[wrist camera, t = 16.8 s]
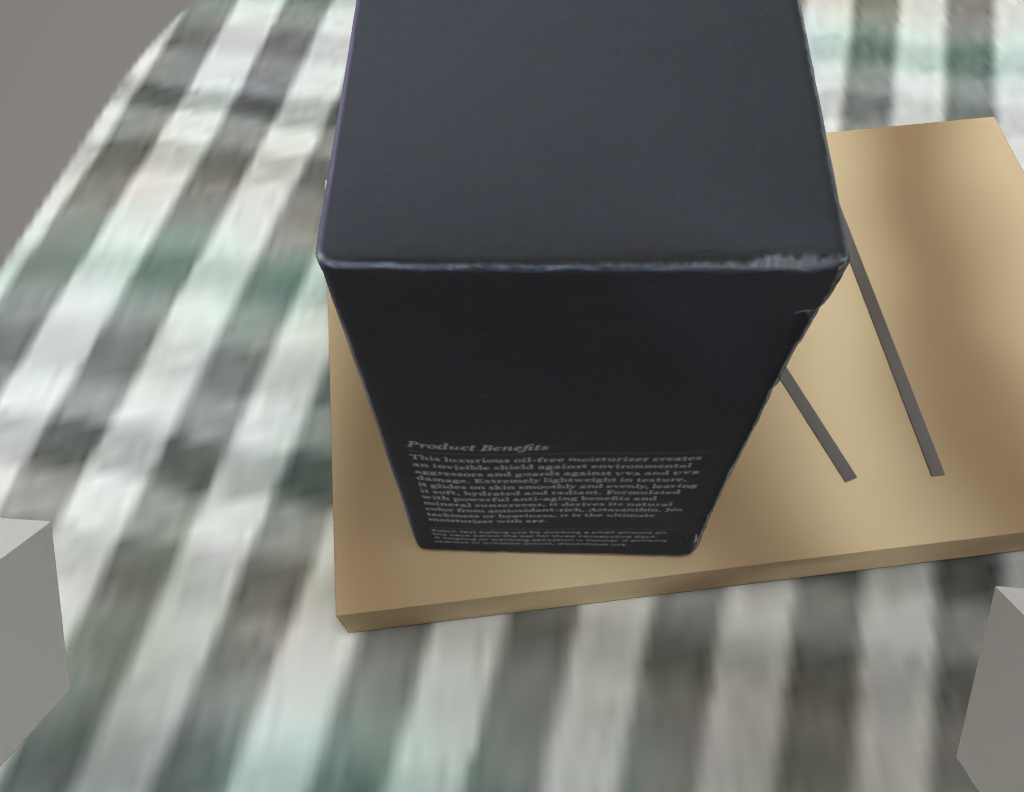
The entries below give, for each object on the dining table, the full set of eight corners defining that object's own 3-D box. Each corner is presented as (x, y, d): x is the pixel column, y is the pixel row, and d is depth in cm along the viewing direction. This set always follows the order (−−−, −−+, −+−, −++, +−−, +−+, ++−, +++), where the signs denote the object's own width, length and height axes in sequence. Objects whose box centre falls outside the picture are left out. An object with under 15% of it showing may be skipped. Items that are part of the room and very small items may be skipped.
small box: (430, 180, 24) (374, -258, 14) (669, 183, 24) (768, -257, 14) (398, 556, 19) (282, 250, 9) (703, 560, 19) (889, 256, 9)
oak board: (970, 154, 26) (994, 115, 25) (1159, 533, 20) (1205, 509, 19) (334, 216, 25) (324, 179, 24) (347, 633, 19) (335, 615, 18)
